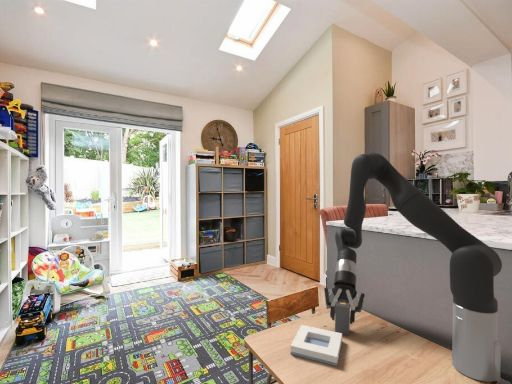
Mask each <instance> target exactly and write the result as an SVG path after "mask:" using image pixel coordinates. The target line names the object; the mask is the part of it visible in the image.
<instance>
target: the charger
mask: <svg viewBox="0 0 512 384" xmlns="http://www.w3.org/2000/svg"><path fill="white" fill-rule="evenodd" d="M350 310H351V308H350V304H349V303H345V302H336V305H335V320H334V330H335V331H334V332H338V333H342V335H346V336H350V332H351V331H350V330H351V324H350Z"/></svg>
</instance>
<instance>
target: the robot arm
mask: <svg viewBox="0 0 512 384" xmlns="http://www.w3.org/2000/svg"><path fill="white" fill-rule="evenodd" d="M371 179H375V180H376V181H377V182H379V183H380V185H382V186H383V187H384V188H385V189H386V190H387V191H388V194H389V196H390V199H391V201H392V204H393V206H394V208H395V210H396V211H398V213H399V214H400V215H401V216H402V217H404V219H406V220H407V222H409V223H410V224H411V225H412V226H414V227H415V228H417V229H418V230H420V231H422V232H423V233H425V234H426V235H429V236H431V237H432V238H433V239H436V240H437V241H438V242H440V243H441V244H442V245H443V246H444V247H445V248H447V250H448V251H449V252H450V253H451V254H450V255H451V256H450V257H449V258H450V259H449V287H450V293H451V295H452V337H451V338H452V341H451V343H452V345H451V346H452V347H451V348H452V349H451V351H452V352H451V364H452V366H453V367H454V369H455V370H456V371H458V372H460V374H463V376H466V377H468V378H470V379H473V380H476V381H480V382H484V383H485V382H488V383H491V382H499V383H501V367H502V366H501V363H502V362H501V358H502V357H501V355H502V351H501V350H502V345H501V343H500V342H499V340H498V321H499V320H498V312H499V311H498V310H499V309H498V308H499V302H498V299H497V298H496V297H495V291H494V290H495V289H494V281H495V280H494V279H495V276H498V275H499V274H500V273H501V271H502V268H503V263H502V259H501V258H500V256H499V254H498V253H497V252H496V251H495V250H494V249H493V248H492V247H490V246H489V245H488V244H486V243H484V242H483V241H482V240H480V239H479V238H478V237H476V236H475V235H473V234H472V233H470V232H469V231H468V230H466V228H463V227H462V225H460V224H458V222H457V221H456V220H454V219H453V218H452V216H450V215H449V214H448V213H447V212H446V211H444V209H442V208H441V206H439V205H438V204H436V202H434V200H432V199H431V198H430V197H429V196H428V195H426V194H425V192H423V191H422V190H420V189H419V188H418V187H416V186H415V185H414V184H413V183H412V182H411V181H409V180H408V179H407V178H406V177H405V176H403V175H402V174H401V173H400V172H399V171H398V170H397V169H396V168H395V167H394V166H393V165H392V164H391V162H390V161H389V160H388V159H387V158H386V157H385V156H384V155H382V154H380V153H378V152H377V153H376V152H372V153H371V152H370V153H362V154H359V155H357V156H355V157H354V159H353V161H352V164H351V167H350V179H349V192H348V193H349V196H348V202H347V207H346V210H345V214H344V219H343V224H344V225H345V227H347V228H349V229H345V228H339V229H337V230H336V232H335V235H334V240H335V244H336V249H337V257H336V259H337V260H336V264H335V265H336V266H335V272H334V281H333V287H331V288H328V287H325V288H323V290H324V297H325V305H326V306H327V308H330V309H329V311H330V312H329V316H330V319H331V320H332V321H335V305H336V302H343V303H349V304H350V325H352V324H354V323H355V320H356V319H355V318H356V313H361V312H362V310H363V305H364V302H365V298H366V297H365V296H366V295H365V293H363V292H361V293H360V292H358V291H357V276H358V274H357V271H358V270H357V252H356V250H354V249H359V248H360V247H361V246H362V244H363V235H362V230H363V222H364V219H365V216H366V211H367V203H366V200H365V188H366V185H367V182H368V181H369V180H371ZM332 294H333V295H334V296H333V300H332V302H330V296H331V295H332ZM356 297H357V300H358V303H357V306H355V304H354V300H355V298H356Z"/></svg>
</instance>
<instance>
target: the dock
mask: <svg viewBox="0 0 512 384" xmlns="http://www.w3.org/2000/svg"><path fill="white" fill-rule="evenodd" d="M342 344H343V334H342V333H338V332H335V331H334V330H333V331H332V330H327V329H322V328H319V327H312V326H309V325H305V324H301V325H300V326H299V329H298V331H297V333H296V334H295V337H294V339H293V340H292V342H291V344H290V355H293V356H296V357H301V358H305V359H308V360H312V361H316V362H320V363H324V364H327V365H332V366H335V367H338V363H339V359H340V353H341V348H342Z"/></svg>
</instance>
